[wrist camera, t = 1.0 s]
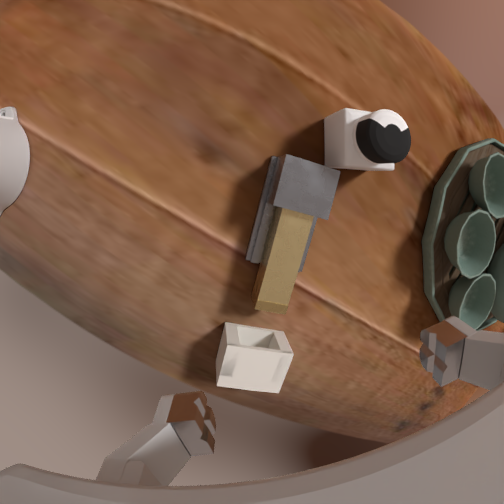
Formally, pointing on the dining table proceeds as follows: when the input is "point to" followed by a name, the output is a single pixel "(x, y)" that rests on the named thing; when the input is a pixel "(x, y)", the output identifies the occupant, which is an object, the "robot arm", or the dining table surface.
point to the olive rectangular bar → (281, 260)
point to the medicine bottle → (365, 140)
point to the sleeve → (292, 197)
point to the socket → (252, 358)
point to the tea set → (467, 237)
